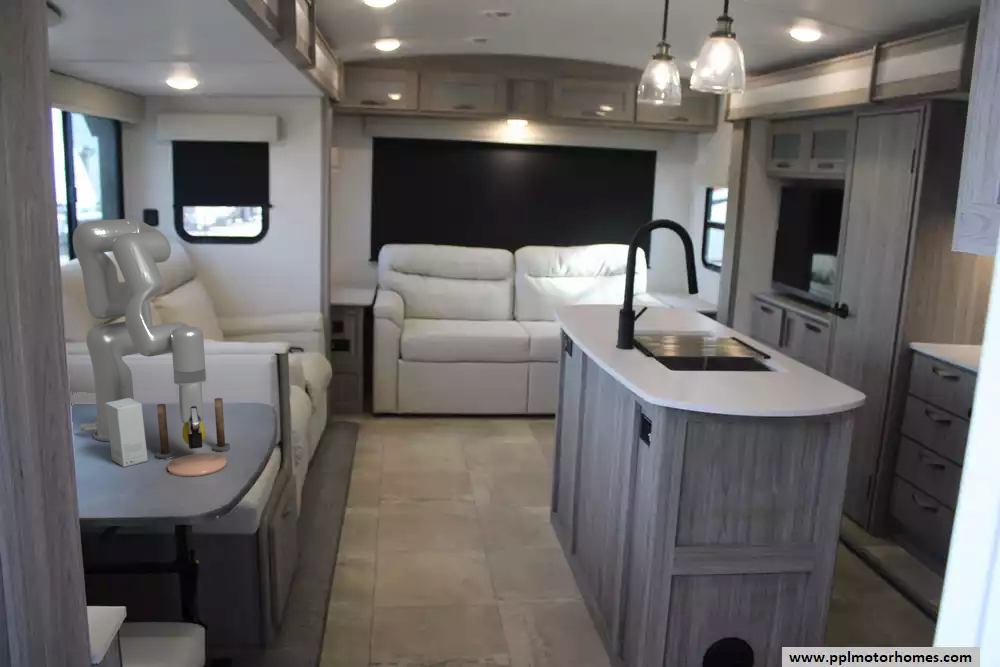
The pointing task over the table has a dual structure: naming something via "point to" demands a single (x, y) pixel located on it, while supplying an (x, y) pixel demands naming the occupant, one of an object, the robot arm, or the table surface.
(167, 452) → the left dowel
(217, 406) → the right dowel
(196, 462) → the plate
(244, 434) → the table surface
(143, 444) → the skincare box
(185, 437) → the lemon
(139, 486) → the table surface
